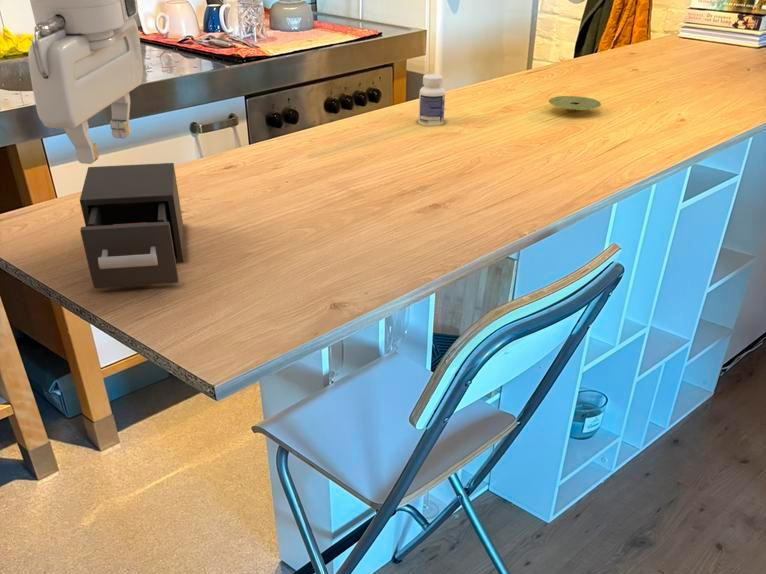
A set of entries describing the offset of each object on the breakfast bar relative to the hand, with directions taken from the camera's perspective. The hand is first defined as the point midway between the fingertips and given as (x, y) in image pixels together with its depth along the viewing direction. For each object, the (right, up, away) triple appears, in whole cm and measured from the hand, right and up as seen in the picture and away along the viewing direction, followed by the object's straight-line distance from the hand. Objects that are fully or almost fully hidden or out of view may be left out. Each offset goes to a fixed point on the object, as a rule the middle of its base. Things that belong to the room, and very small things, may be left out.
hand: (106, 148), depth 93 cm
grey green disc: (+73, +46, +85) cm, 121 cm away
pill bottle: (+42, +40, +77) cm, 96 cm away
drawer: (-2, -9, +18) cm, 20 cm away
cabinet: (-4, -3, +27) cm, 27 cm away
